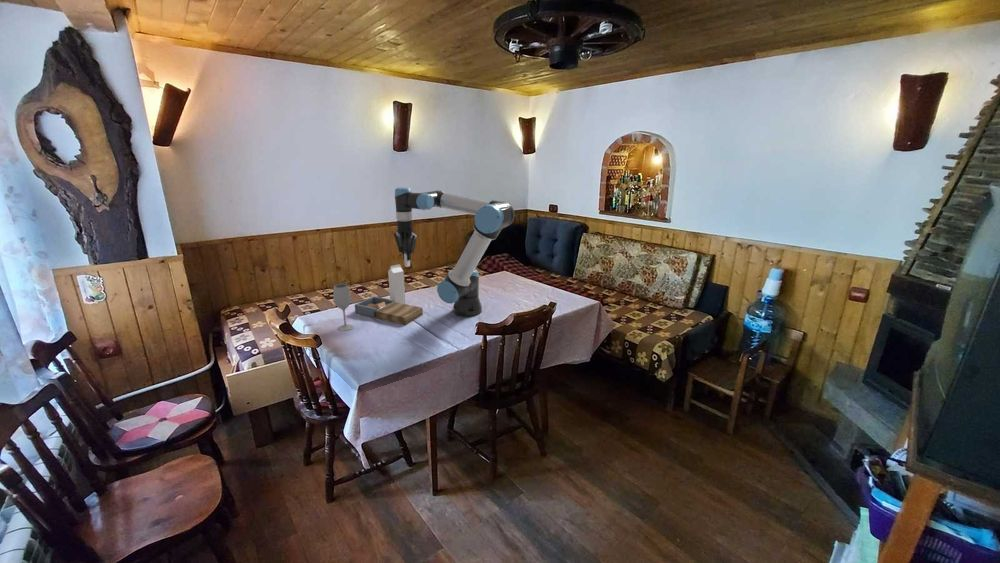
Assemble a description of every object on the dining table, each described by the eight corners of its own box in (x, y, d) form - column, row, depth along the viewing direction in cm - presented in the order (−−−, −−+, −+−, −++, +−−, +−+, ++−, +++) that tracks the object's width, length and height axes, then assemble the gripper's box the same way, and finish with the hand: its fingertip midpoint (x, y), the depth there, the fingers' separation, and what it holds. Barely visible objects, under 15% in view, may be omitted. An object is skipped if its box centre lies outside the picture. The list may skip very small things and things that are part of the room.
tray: (393, 308, 208) (393, 299, 206) (375, 318, 196) (374, 309, 194) (374, 304, 213) (373, 296, 211) (355, 313, 201) (354, 304, 199)
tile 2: (385, 305, 203) (384, 301, 203) (379, 308, 199) (377, 304, 199) (379, 307, 206) (377, 303, 206) (372, 310, 201) (371, 306, 201)
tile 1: (370, 303, 208) (371, 306, 208) (364, 306, 203) (364, 310, 204) (378, 305, 206) (378, 308, 206) (371, 308, 201) (372, 311, 202)
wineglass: (338, 332, 180) (332, 289, 174) (336, 325, 187) (331, 284, 180) (355, 329, 184) (350, 287, 177) (353, 323, 190) (348, 282, 183)
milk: (405, 304, 215) (403, 265, 208) (395, 306, 211) (393, 267, 204) (400, 300, 219) (397, 262, 212) (390, 303, 215) (387, 264, 208)
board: (422, 314, 201) (422, 307, 200) (406, 325, 189) (405, 317, 188) (394, 308, 208) (393, 301, 207) (376, 318, 196) (375, 311, 194)
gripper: (420, 219, 193) (422, 265, 200) (398, 217, 198) (401, 262, 205) (411, 222, 186) (413, 269, 194) (388, 220, 191) (392, 266, 199)
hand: (407, 266), depth 200 cm, fingers closed
